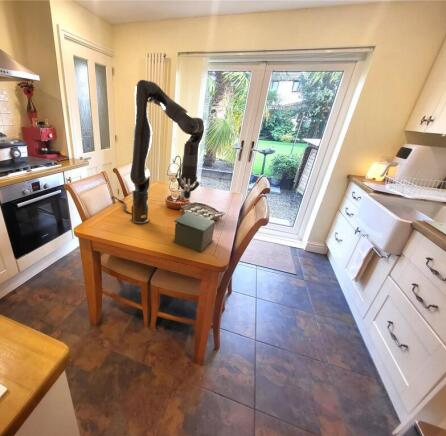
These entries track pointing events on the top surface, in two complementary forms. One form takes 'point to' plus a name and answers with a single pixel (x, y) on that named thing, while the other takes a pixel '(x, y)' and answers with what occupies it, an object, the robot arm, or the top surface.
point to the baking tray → (202, 211)
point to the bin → (193, 237)
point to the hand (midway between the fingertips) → (187, 198)
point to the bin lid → (194, 221)
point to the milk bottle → (183, 196)
